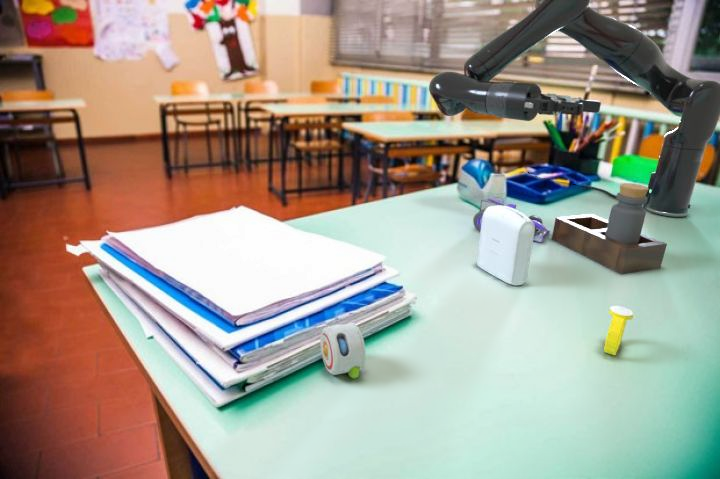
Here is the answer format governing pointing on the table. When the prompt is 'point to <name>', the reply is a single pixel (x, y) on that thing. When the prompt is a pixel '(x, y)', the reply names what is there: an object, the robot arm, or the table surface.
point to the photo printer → (505, 244)
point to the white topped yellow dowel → (616, 328)
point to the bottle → (627, 214)
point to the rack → (607, 244)
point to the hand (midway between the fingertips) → (591, 108)
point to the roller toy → (343, 349)
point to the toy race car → (499, 201)
